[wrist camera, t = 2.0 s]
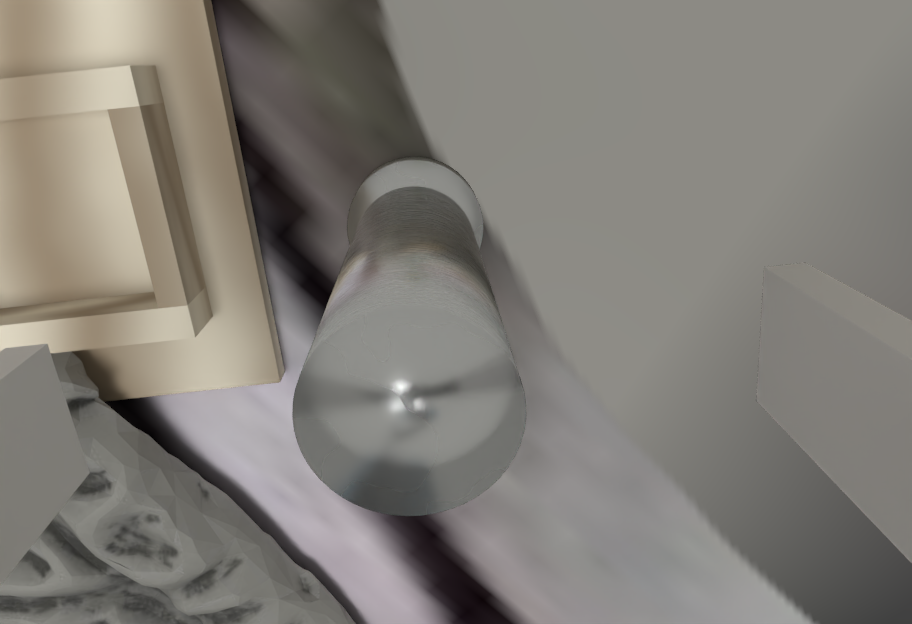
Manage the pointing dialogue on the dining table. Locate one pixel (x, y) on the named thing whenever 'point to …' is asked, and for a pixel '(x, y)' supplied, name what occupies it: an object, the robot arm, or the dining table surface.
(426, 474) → the peg
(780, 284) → the robot arm
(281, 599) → the wall plaque
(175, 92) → the keyhole base
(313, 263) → the dining table surface
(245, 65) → the dining table surface
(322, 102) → the dining table surface
